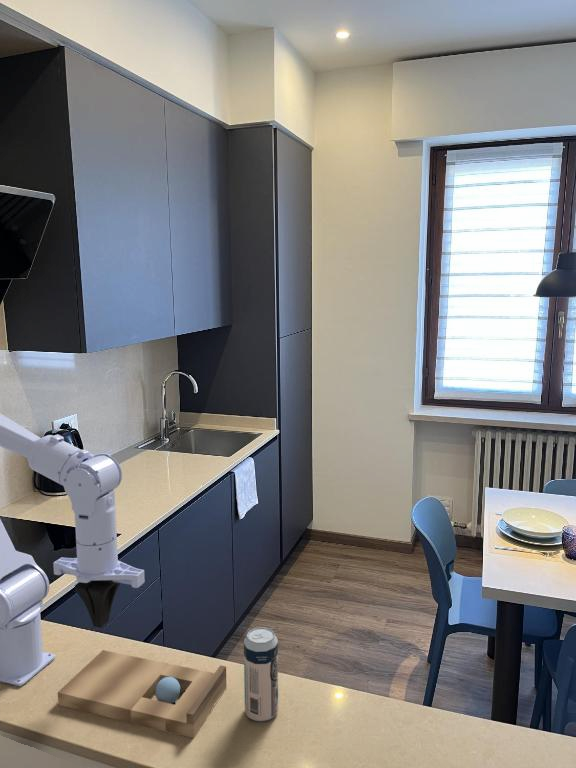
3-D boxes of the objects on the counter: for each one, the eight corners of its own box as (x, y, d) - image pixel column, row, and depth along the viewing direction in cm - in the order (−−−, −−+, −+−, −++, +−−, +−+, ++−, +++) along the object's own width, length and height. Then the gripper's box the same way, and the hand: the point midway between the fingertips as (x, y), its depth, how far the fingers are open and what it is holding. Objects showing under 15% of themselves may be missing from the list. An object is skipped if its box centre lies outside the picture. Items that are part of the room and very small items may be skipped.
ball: (177, 703, 84) (160, 713, 85) (189, 687, 87) (172, 698, 88) (162, 682, 84) (146, 693, 85) (174, 667, 87) (158, 678, 89)
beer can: (283, 718, 83) (282, 640, 81) (250, 728, 81) (249, 647, 79) (271, 697, 87) (270, 622, 86) (240, 706, 86) (239, 629, 84)
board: (58, 704, 86) (56, 683, 85) (103, 661, 96) (102, 641, 96) (193, 738, 79) (193, 714, 79) (226, 687, 90) (226, 666, 89)
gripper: (37, 542, 85) (42, 629, 87) (123, 555, 80) (127, 646, 82) (69, 525, 92) (73, 606, 93) (150, 535, 87) (153, 621, 89)
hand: (101, 623), depth 88 cm, fingers closed
